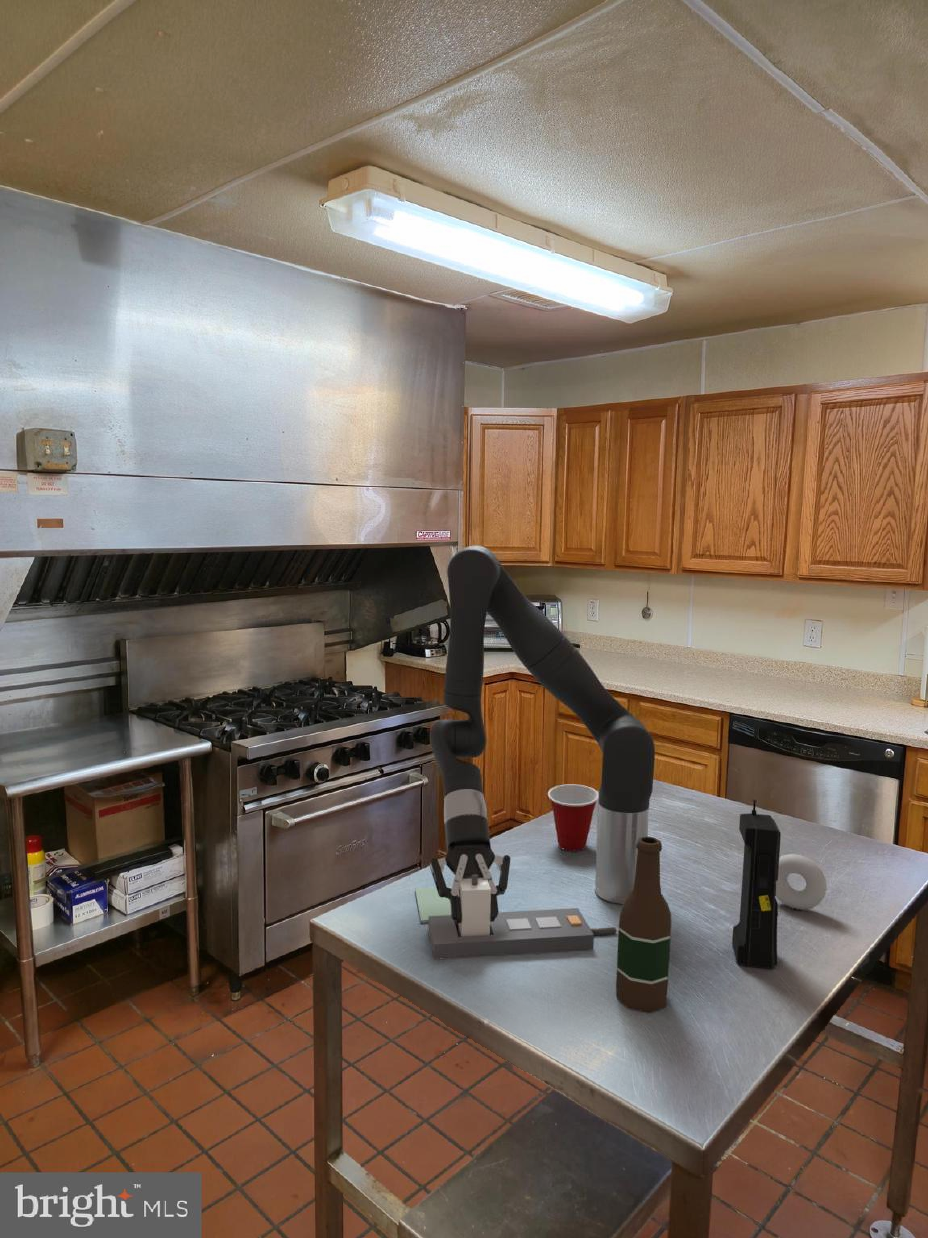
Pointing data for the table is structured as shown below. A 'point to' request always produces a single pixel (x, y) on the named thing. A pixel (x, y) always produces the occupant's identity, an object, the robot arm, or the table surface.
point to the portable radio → (758, 892)
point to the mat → (431, 903)
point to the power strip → (516, 934)
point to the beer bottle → (644, 935)
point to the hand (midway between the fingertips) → (475, 920)
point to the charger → (474, 907)
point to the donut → (812, 877)
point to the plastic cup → (573, 814)
